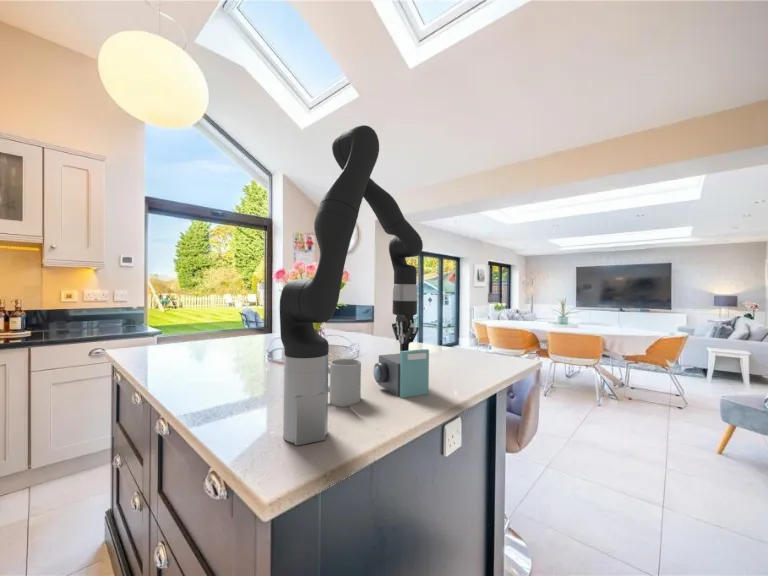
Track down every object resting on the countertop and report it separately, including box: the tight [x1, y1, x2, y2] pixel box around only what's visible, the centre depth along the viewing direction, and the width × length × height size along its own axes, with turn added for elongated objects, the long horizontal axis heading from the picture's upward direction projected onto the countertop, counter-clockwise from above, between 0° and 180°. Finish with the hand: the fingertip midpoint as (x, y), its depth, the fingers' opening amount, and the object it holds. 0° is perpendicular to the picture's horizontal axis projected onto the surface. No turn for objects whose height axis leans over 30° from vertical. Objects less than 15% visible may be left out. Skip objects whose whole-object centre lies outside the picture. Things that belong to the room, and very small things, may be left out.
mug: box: [328, 358, 362, 408], centre depth 92 cm, size 12×8×11 cm
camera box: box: [373, 353, 400, 397], centre depth 102 cm, size 13×13×11 cm
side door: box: [399, 348, 430, 399], centre depth 95 cm, size 2×9×13 cm, turn 116°
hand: (404, 355), depth 101 cm, fingers closed
